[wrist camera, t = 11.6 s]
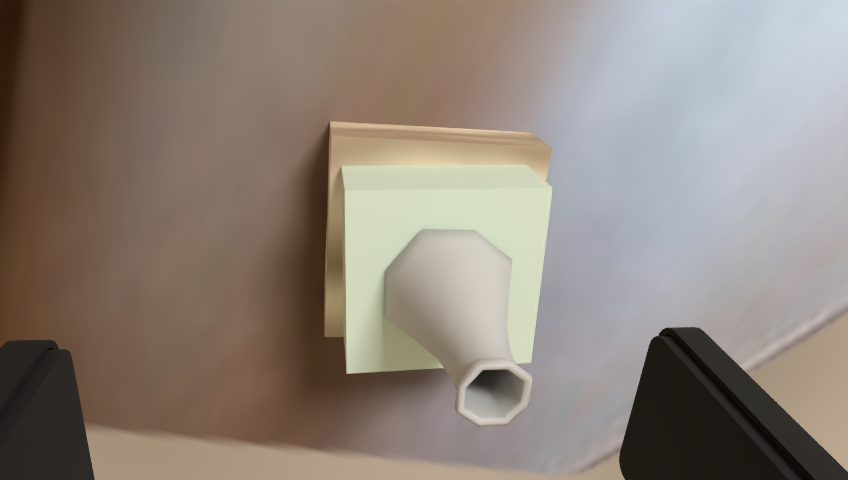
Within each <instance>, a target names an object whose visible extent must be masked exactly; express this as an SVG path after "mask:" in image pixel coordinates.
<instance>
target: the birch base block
mask: <svg viewBox="0 0 848 480" xmlns="http://www.w3.org/2000/svg"><path fill="white" fill-rule="evenodd" d="M551 148H552V147H550V146H549V145H548V144H546V143H545V142H543V141H542V140H541V139H539V138H538V137H536V136H535V135H534V134H532V133H528V132H510V131H492V130H474V129H456V128H439V127H421V126H403V125H385V124H367V123H350V122H332V121H330V138H329V169H328V200H327V230H326V261H325V292H324V331H325V337H344V329H343V251H342V172H341V166H421V165H527V166H528V167H529V168H531V169H532V170H533V171H534V172H535V173H536V174H537V175H539V176H540V177H541V178H542V179H543V180H544V181H545V182H546V177H547V172H548V166H549V160H550V154H551Z"/></svg>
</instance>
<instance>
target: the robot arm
mask: <svg viewBox="0 0 848 480" xmlns="http://www.w3.org/2000/svg"><path fill="white" fill-rule="evenodd" d="M619 462H620V468H621V472H622V474H623V477H624V478H625V480H848V472H847V471H846V470H845V469H844V468H843V467H842V466H841V465H840V464H839V463H838V462H837V461H836V460H835V459H834V458H833V457H832V456H831V455H830V454H829V453H828V452H827V451H826V450H824V448H823V447H821V446H820V445H819V444H818V443H817V442H816V441H815V440H814V439H813V438H812V437H811V436H810V435H809V434H808V433H807V432H806V431H805V430H804V429H803V428H802V427H801V426H800V425H799V424H798V423H797V422H796V421H795V420H794V419H793V418H792V417H791V416H790V415H789V414H788V413H787V412H786V411H785V410H784V409H783V408H781V406H780V405H778V403H777V402H775V401H774V400H773V399H772V398H771V397H770V396H769V395H768V394H767V393H766V392H765V391H764V390H763V389H762V388H761V387H760V386H759V385H758V384H757V383H756V382H755V381H754V380H753V379H752V378H751V377H750V376H749V375H748V374H747V373H746V372H745V371H744V370H743V369H742V368H741V367H740V366H739V365H738V364H737V363H736V362H735V361H734V360H733V359H731V358H730V357H729V356H728V355H727V354H726V353H725V352H724V351H723V350H722V349H721V348H720V347H719V346H718V345H717V344H716V343H715V342H714V341H713V340H712V339H711V338H710V337H709V336H708V335H707V334H706V333H705V332H704V331H703V330H701V329H700V328H696V327H682V328H665V329H663V330H662V331H661V332H660V333H659V336H656V337H654V338H653V339H652V340H651V342H650V345H649V348H648V352H647V356H646V359H645V363H644V367H643V370H642V374H641V378H640V381H639V385H638V389H637V392H636V396H635V400H634V403H633V407H632V411H631V414H630V418H629V422H628V425H627V429H626V433H625V436H624V440H623V444H622V447H621V451H620V456H619ZM0 480H94V474H93V469H92V463H91V458H90V453H89V447H88V442H87V437H86V431H85V426H84V420H83V415H82V410H81V404H80V399H79V393H78V388H77V383H76V377H75V372H74V367H73V361H72V357H71V354H70V352H69V351H68V350H66V349H62V350H59V348H58V346H57V344H56V342H55V341H53V340H18V341H8V342H6V343H5V344H4V345H3V346H2V347H1V348H0Z"/></svg>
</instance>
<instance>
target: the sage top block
mask: <svg viewBox="0 0 848 480" xmlns="http://www.w3.org/2000/svg"><path fill="white" fill-rule="evenodd" d="M341 172H342V251H343V329H344V345H345V358H346V371H347V374H351V373H368V372H385V371H401V370H418V369H435V368H444V367H443V366H442V364H441V363H440V362H439V360H438V359H437V358H435V357H434V356H433V355H432V354H431V353H430V352H428V351H427V350H426V349H425V348H424V347H423V346H421V345H420V344H419V343H418V342H417V341H416V340H414V339H413V338H412V337H411V336H409V335H408V334H407V333H405V332H404V331H403V330H401V329H400V328H399V327H397V326H396V325H395V324H393V323H392V322H391V321H390V320H389V319H387V318H386V317H385V316H384V312H385V295H386V278H387V268H388V267H389V266H390V265H391V264H392V263H393V261H394V260H395V259H396V258H397V257H398V256H399V255H400V254H401V252H402V251H403V250H404V249H405V248H406V247H407V246H408V244H409V243H410V242H411V241H412V240H413V239H414V238H415V237H416V235H417V234H418V233H419V232H420V231H421V230H422V229H449V230H476V231H477V232H478V233H480V234H481V235H482V236H483V237H485V238H486V239H487V240H488V241H490V242H491V243H492V244H493V245H495V246H496V247H497V248H498V249H500V250H501V251H502V252H503V253H505V254H506V255H507V256H508V257H510V258H511V259H512V270H511V279H510V288H509V299H508V319H507V333H508V338H509V343H510V348H511V354H512V356H513V358H514V360H515V362H516V364H518V363H531V358H532V350H533V342H534V334H535V326H536V318H537V310H538V302H539V293H540V285H541V277H542V269H543V261H544V253H545V245H546V237H547V229H548V221H549V213H550V205H551V197H552V189H553V188H552V187H551V186H550V185H549V184H548V183H546V182H545V181H544V180H543V179H542V178H541V177H540V176H539V175H537V174H536V173H535V172H534V171H533V170H532V169H531V168H529V167H528V166H527V165H421V166H341Z"/></svg>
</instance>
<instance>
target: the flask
mask: <svg viewBox="0 0 848 480" xmlns="http://www.w3.org/2000/svg"><path fill="white" fill-rule="evenodd" d="M511 270H512V259H511V258H510V257H508V256H507V255H506V254H505V253H503V252H502V251H501V250H500V249H498V248H497V247H496V246H495V245H493V244H492V243H491V242H490V241H488V240H487V239H486V238H485V237H483V236H482V235H481V234H480V233H478V232H477V231H476V230H449V229H422V230H421V231H420V232H419V233H418V234H417V235H416V237H415V238H414V239H413V240H412V241H411V242H410V243H409V244H408V246H407V247H406V248H405V249H404V250H403V251H402V252H401V254H400V255H399V256H398V257H397V258H396V259H395V260H394V261H393V263H392V264H391V265H390V266H389V267H388V268H387V278H386V295H385V312H384V316H385V317H386V318H387V319H389V320H390V321H391V322H392V323H393V324H395V325H396V326H397V327H399V328H400V329H401V330H403V331H404V332H405V333H407V334H408V335H409V336H411V337H412V338H413V339H414V340H416V341H417V342H418V343H419V344H420V345H421V346H423V347H424V348H425V349H426V350H427V351H428V352H430V353H431V354H432V355H433V356H434V357H435V358H437V359H438V360H439V362H440V363H441V364H442V366H443V367H444V369H445V370H446V371H447V373H448V374H449V376H450V377H451V378H452V380H453V382H454V385H455V388H456V390H457V392H456V400H455V411H456V413H458V414H460V415H461V416H463V417H464V418H466V419H467V420H469V421H471V422H472V423H474V424H475V425H477V426H499V425H508V424H509V423H510V422H511V421H512V420H513V419H514V418H515V417H516V416H517V415H518V414H519V413H520V412H521V411H522V410H523V409H524V408H525V407H526V406H527V405H528V403H529V397H530V391H531V385H532V377H531V375H530V374H529V373H528V372H526V371H525V370H523V369H522V368H521V367H519V366H518V365H517V364H516V362H515V360H514V358H513V356H512V354H511V348H510V343H509V338H508V333H507V319H508V299H509V288H510V279H511Z"/></svg>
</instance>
